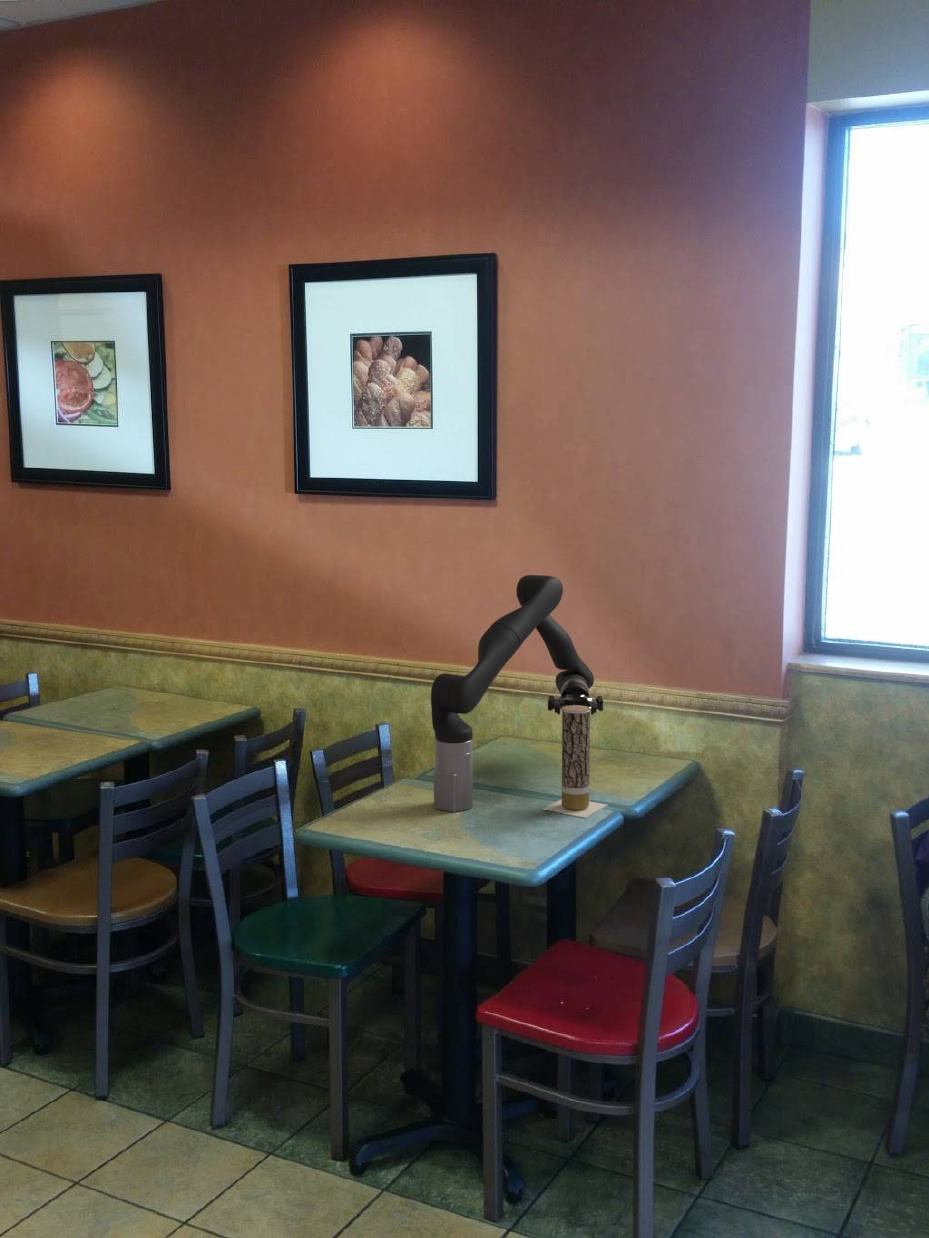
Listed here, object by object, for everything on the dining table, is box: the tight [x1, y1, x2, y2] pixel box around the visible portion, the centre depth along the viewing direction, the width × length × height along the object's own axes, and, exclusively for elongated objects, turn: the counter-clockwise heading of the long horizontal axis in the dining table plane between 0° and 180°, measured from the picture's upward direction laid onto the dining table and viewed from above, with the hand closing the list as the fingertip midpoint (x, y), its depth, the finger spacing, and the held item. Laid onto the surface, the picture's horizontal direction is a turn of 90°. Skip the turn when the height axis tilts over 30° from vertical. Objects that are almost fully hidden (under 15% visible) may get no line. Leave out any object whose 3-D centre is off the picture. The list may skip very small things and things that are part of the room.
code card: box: [541, 798, 609, 819], centre depth 305 cm, size 12×12×1 cm
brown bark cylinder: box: [561, 705, 591, 810], centre depth 303 cm, size 7×7×25 cm
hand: (575, 710), depth 312 cm, fingers open, 8 cm apart
